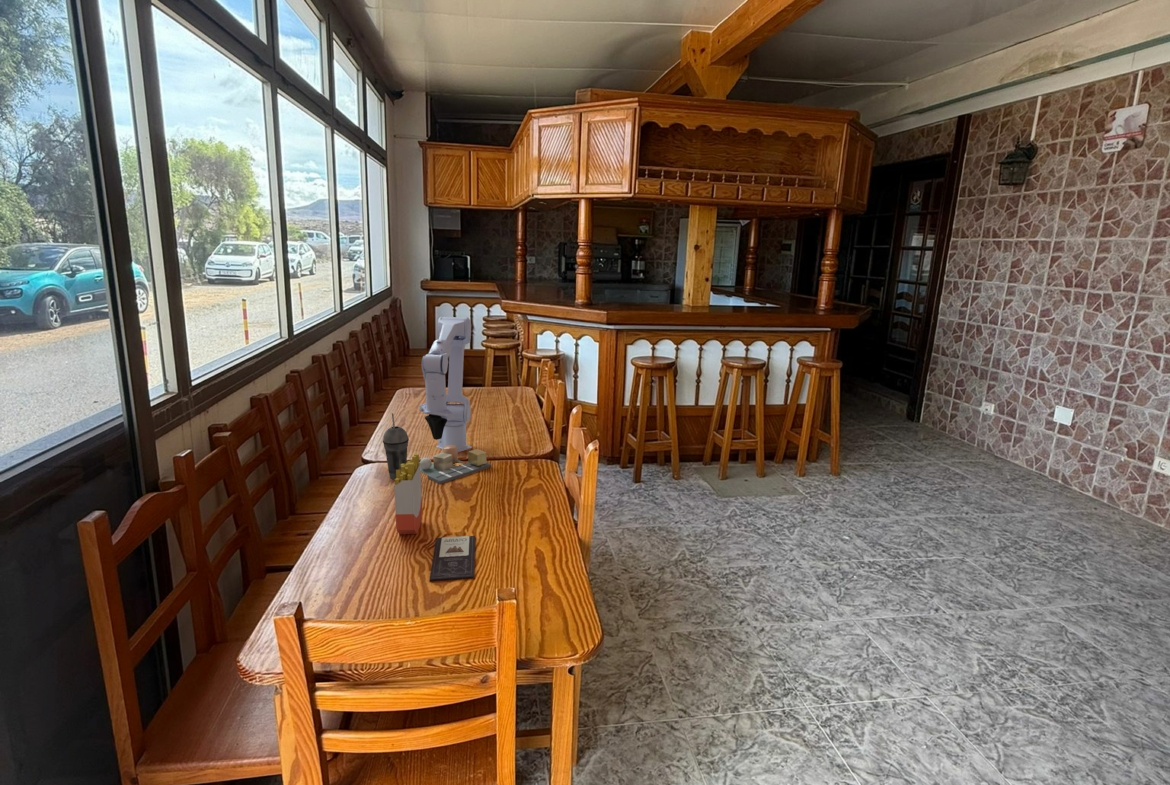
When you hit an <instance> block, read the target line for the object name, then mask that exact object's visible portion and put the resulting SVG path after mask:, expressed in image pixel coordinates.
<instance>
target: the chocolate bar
mask: <svg viewBox="0 0 1170 785" xmlns="http://www.w3.org/2000/svg"><path fill="white" fill-rule="evenodd" d="M434 541H435V543H434V550H433V555H432V562H431V568H430V573H429V574H430V575H429V582H430V583H431V582H445V581H447V582H448V581H460V580H461V581H463V580H474V579H475V563H476V562H475V558H476V557H475V556H476V554H475V553H476V535H465V536H464V535H463V536H447V537H444V536H442V537H435V540H434Z"/></svg>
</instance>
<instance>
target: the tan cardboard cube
mask: <svg viewBox="0 0 1170 785" xmlns="http://www.w3.org/2000/svg"><path fill="white" fill-rule="evenodd" d="M467 456H468V458H467V459H468V460H467V461H468V462H467V463H471V464H474V465H476V466H479V465H482V464H485V463H486V462H487V452H486V451H484V450H481V449H478V448H476V449H472V450H469V451H467Z"/></svg>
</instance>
